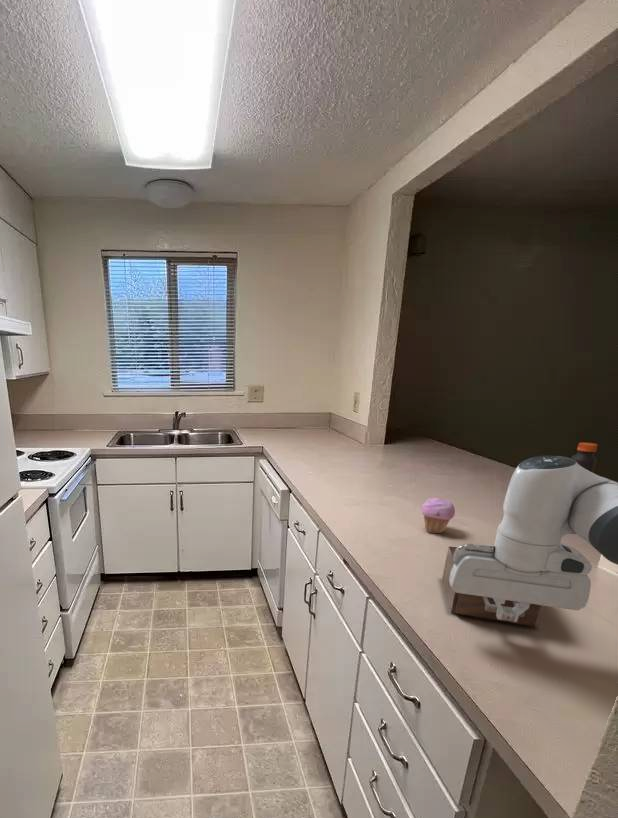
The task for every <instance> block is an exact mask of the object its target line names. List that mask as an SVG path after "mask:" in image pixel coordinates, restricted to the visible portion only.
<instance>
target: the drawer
mask: <svg viewBox="0 0 618 818" xmlns="http://www.w3.org/2000/svg"><path fill="white" fill-rule="evenodd" d="M517 604H518V602H516V601H510V600H505V604H501V606H502V607H503V608H509V609H512V608H513V607H514V606H516V605H517ZM539 608H540V605H537V604H530V606H529V608H528V609H527V610H526V611H524V612H523V613H522V614H520V615H519V617H518V620H517V622H513V623H518V624H517V625H519V624H524V625H530V626H534V625H535V621H536V618H537V614H538V611H539ZM540 609H541V608H540ZM496 611H497V606H496V603H495V601H494V599H493V598H490V597H483V596H476V595H469V594H463V593H458V598H457V603H456V607H455V612H456V613H459V614H458V615H460V614H465V615H464V616H466V615H471V616H470V617H472V616H477V617H483V618H489V619H495V620H499V619H497V617H496ZM539 612H540V611H539ZM538 615H539V614H538ZM477 617H476V618H477ZM483 618H482V619H483ZM489 619H488V620H489ZM537 619H538V618H537ZM495 620H494V621H495ZM501 621H506V620H501ZM501 621H500V622H501ZM507 622H512V621H507ZM507 622H506V623H507ZM536 622H537V621H536ZM513 623H512V624H513ZM524 625H523V626H524ZM530 626H529V627H530ZM535 626H536V625H535Z"/></svg>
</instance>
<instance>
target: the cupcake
mask: <svg viewBox="0 0 618 818" xmlns="http://www.w3.org/2000/svg"><path fill="white" fill-rule="evenodd" d="M455 513H456V509H455V506H454V503H453V502H452V501H450V500H447V499H444V498H441V497H430V498H428V499H427V500H426V501H425V502H423V504H422V505H421V514H422V515H423V519H424V528H425V530H426V532H427V533H430V534H441V533H443V532H444V531H445V530H446V528H447V526H448V524H449V522H450V520H452V519H453V518H454V516H455Z"/></svg>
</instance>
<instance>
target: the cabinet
mask: <svg viewBox="0 0 618 818" xmlns="http://www.w3.org/2000/svg"><path fill="white" fill-rule="evenodd" d="M458 547H459V546H450V545H449V546H448V547H447V553H446V558H445V562H444V568H443V572H442V578H441V580H442V584H443V588H444V592H445V595H446V600H447V604H448V607H449V611H450V614H454V615H460V616H466V617H471V618H472V617H473V618H477V619H484V620H489V621H496V622H502V623H508V624H513V625H518V626H526V627H531V628H535V627H536V625H537V621H538V617H539V614H540V610H541V608H542V605H540V608H539V611H538V614H537V618H536V621H535V625H534V626H530V625H524V624H518V623H513V622H507V621H501V620H495V619H489V618H483V617H477V616H471V615H465V614H459V613H456V612H455V607H456V603H457V598H458V593H457V592H454V590H453V589H452V588H451V586H450V583H449V577H450V573H451V570H452V567H453V565H454V563H453V555H454V551H455V549H456V548H458ZM462 549H465V548H462Z"/></svg>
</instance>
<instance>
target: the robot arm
mask: <svg viewBox="0 0 618 818" xmlns="http://www.w3.org/2000/svg"><path fill="white" fill-rule="evenodd" d="M502 509H503V518H502V520H501V521H500V523H499V525H498V527H497V530H496V534H495V539H494V543H493V546H491V545H481V544H480V545H478V544H473V543H465V544H464V545H460V546H457V547H458V548H456V549H455V551H454V555H453V563H454V565H453V567H452V570H451V573H450V577H449V583H450V586H451V588H452V589H453V590H454V592H457V593H463V594H469V595H476V596H483V597H490V598H493V599H494V601H495V603H496V606H497V611H496V617H497V619H499V620H506V621H512V622H517V620H518V617H519V615H520V614H522V613H523V612H524V611H526V610H527V609H528V608H529V606H530V604H537V605H541V606H543V607H550V608H559V609H563V610H571V611H580V610H582V609H584V608H585V607H586V606H587V604H588V602H589V601H588V600H589V598H590V592H591V586H592V584H591V583H592V582H591V579H590V577H589V576H588V575H589V574H590V573H591V571H592V569H593V565H592V563H591V562H590V560H589V559H588V558H587V557H586V556H585V555H584V554H583V553H582V552H580V551H579V550H578V549H577V548H576V547H573V546H570V545H568V544H565V543H563V542H562V540H563V537H564V536H565V535H576V536H577V537H579V538H580V539H582V540H583V541H585V542H586V543H588V544H589V545H591V546H592V548H594V550H596V551H597V552H598V553H599V554H600V555H601V556H603V558H605V559H606V560H607V561H608V562H610V563H612V564H615V565H617V566H618V481H615V480H612V479H609V478H606V477H605V476H600V475H598V474H596V473H594V472H593V473H592V472H590V471H588V470H586V469H585V468H583V467H581V466H580V465H579V464H578V463H577V462H576V461H575V460H574V459H571V457H567V456H562V455H538V456H533V457H529V458H528V459H525V460H522V461H521V462H519V464H518V465H517V466H516V468H515V469H514V471H513V474H512V475H511V478H510V480H509V483H508V487H507V489H506V493H505V497H504V501H503V505H502ZM462 548H465V549H462ZM505 600H510V601H516V602H518V604H517V605H516V606H514V607H513V608H512V609H509V608H503V607H502V606H501V604H505Z"/></svg>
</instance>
